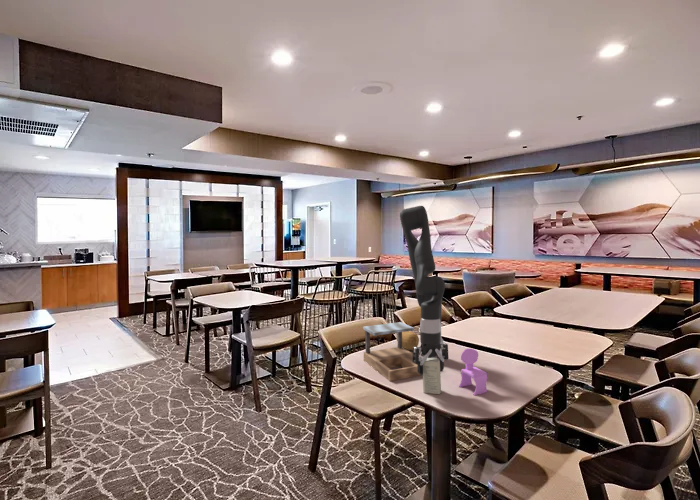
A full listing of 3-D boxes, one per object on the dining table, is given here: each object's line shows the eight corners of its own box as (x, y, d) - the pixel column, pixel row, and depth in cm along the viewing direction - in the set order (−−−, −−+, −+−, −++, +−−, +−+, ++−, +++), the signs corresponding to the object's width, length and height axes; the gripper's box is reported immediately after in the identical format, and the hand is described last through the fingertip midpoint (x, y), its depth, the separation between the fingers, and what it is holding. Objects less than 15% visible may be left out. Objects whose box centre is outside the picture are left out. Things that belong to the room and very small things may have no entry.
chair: (472, 396, 134) (472, 355, 134) (456, 387, 142) (456, 348, 142) (490, 392, 138) (490, 352, 137) (473, 383, 146) (473, 345, 145)
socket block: (401, 354, 181) (400, 321, 180) (431, 373, 157) (431, 335, 156) (363, 360, 174) (363, 326, 173) (389, 381, 150) (389, 341, 149)
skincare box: (441, 390, 140) (440, 358, 140) (440, 394, 136) (439, 362, 136) (424, 388, 142) (423, 356, 142) (422, 392, 138) (422, 360, 138)
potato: (408, 343, 199) (408, 326, 199) (423, 352, 184) (422, 333, 184) (394, 345, 196) (393, 327, 196) (407, 354, 182) (407, 335, 181)
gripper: (440, 325, 144) (440, 366, 145) (408, 329, 139) (409, 372, 140) (452, 330, 137) (452, 373, 138) (419, 334, 132) (419, 379, 133)
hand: (430, 372), depth 139 cm, fingers open, 8 cm apart
